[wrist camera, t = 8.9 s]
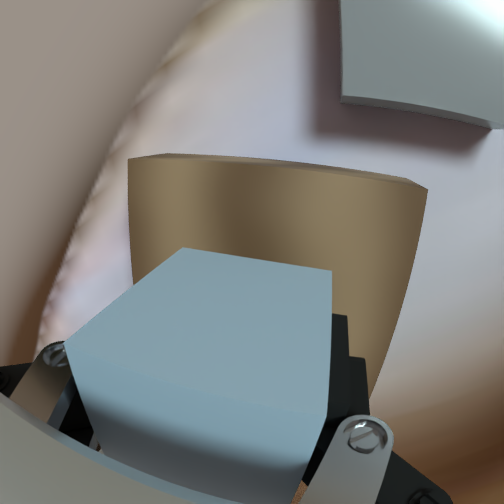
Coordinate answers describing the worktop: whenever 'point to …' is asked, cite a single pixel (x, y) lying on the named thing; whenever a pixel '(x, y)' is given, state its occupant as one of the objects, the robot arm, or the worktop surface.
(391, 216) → the walnut slab
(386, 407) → the worktop surface
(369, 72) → the slate coaster
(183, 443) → the blue block
